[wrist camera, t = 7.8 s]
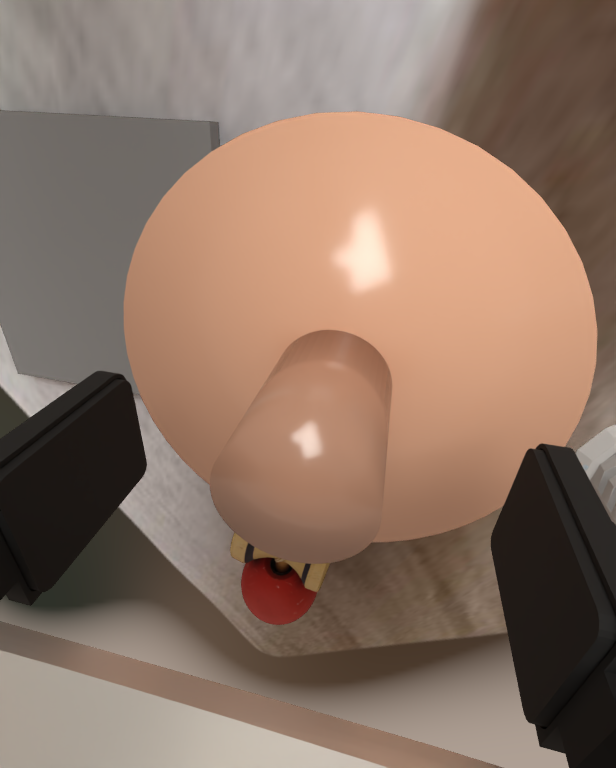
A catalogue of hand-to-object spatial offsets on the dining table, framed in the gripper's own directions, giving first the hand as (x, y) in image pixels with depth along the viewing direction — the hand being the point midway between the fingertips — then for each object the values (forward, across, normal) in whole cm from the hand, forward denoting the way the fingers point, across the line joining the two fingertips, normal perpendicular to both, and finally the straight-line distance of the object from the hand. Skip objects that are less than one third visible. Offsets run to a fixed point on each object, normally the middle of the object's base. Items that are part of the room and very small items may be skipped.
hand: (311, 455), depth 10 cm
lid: (+4, 0, 0) cm, 4 cm away
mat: (+14, +16, +1) cm, 21 cm away
